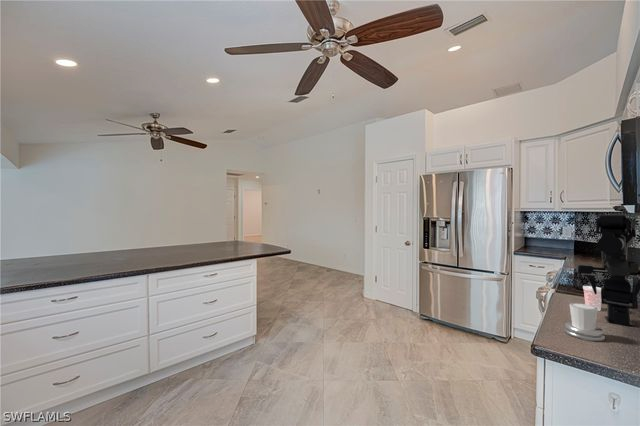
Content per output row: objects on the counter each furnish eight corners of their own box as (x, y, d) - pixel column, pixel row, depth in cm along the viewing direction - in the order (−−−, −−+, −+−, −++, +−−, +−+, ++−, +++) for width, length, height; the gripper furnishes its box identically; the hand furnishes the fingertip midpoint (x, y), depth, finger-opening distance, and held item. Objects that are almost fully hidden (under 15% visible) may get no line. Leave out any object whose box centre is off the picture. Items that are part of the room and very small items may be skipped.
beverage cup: (579, 306, 121) (579, 274, 122) (596, 307, 120) (596, 274, 120) (589, 310, 116) (588, 277, 116) (607, 312, 114) (606, 277, 114)
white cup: (583, 322, 97) (582, 302, 97) (604, 330, 90) (603, 309, 90) (564, 323, 96) (563, 303, 97) (583, 331, 90) (583, 309, 90)
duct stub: (562, 326, 100) (562, 319, 100) (601, 333, 94) (601, 325, 94) (565, 336, 92) (565, 328, 92) (608, 344, 86) (608, 336, 86)
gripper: (580, 251, 95) (580, 297, 95) (664, 255, 84) (665, 307, 84) (575, 248, 104) (576, 290, 104) (651, 251, 93) (652, 298, 93)
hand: (614, 296), depth 96 cm, fingers open, 9 cm apart
